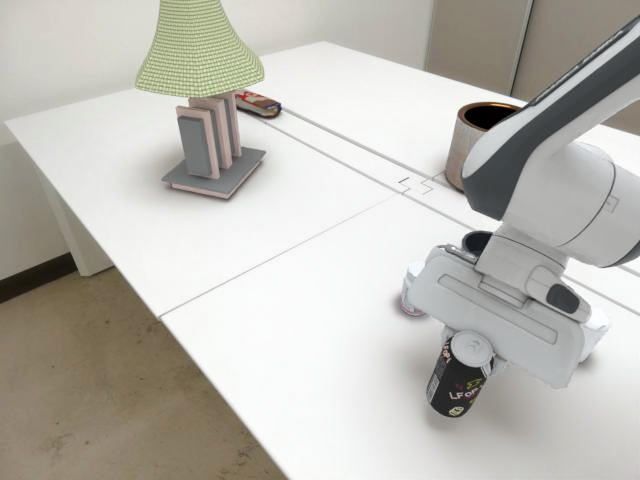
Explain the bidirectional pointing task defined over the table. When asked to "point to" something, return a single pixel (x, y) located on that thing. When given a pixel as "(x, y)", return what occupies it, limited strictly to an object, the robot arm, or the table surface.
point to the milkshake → (595, 330)
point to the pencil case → (257, 103)
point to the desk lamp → (203, 92)
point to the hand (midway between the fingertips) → (458, 376)
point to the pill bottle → (409, 278)
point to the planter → (472, 133)
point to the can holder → (475, 242)
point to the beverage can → (459, 374)
